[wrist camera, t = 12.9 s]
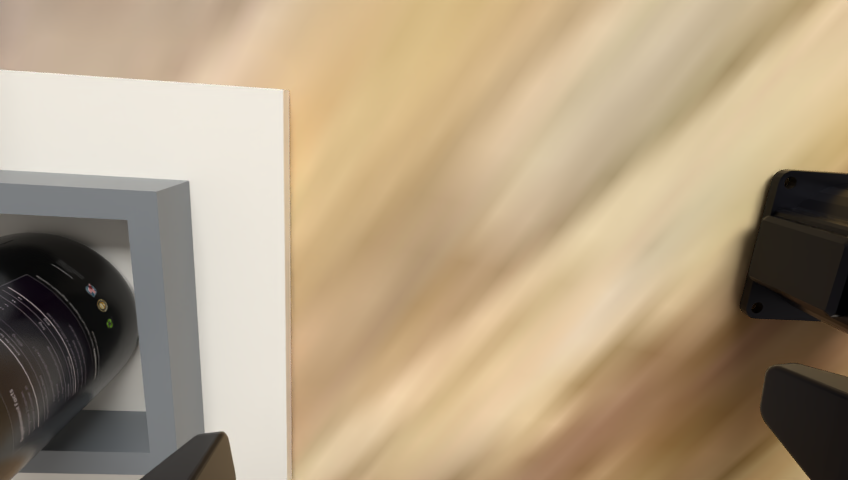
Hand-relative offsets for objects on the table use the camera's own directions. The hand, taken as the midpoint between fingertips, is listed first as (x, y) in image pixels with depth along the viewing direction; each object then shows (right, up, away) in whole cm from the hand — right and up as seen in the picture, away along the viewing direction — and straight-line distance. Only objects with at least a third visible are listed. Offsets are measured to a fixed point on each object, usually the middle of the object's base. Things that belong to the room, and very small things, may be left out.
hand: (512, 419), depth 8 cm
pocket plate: (-16, 0, +12) cm, 20 cm away
